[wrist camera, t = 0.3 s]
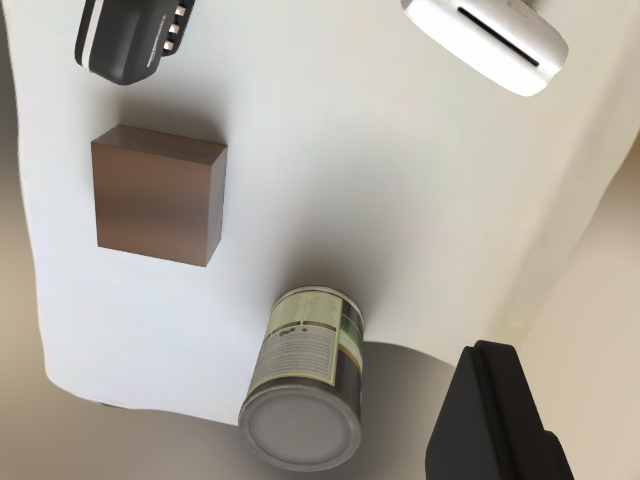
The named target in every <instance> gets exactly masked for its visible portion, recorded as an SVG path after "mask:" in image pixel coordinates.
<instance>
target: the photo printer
mask: <svg viewBox="0 0 640 480" xmlns="http://www.w3.org/2000/svg"><path fill="white" fill-rule="evenodd" d="M400 2H401V5H402V8H403V10H404V12H405V13H406V15H407V16H408V17H409V18H410V19H411V20H412V21H413V22H414V23H415V24H416V25H417V26H418V27H419V28H420V29H421V30H423V31H424V32H425V33H426V34H428V35H429V36H430V37H432V38H433V39H434V40H435V41H437V42H438V43H439V44H441V45H442V46H443V47H445V48H446V49H447V50H449V51H450V52H452V53H453V54H454V55H456V56H457V57H459V58H460V59H462V60H463V61H464V62H466V63H467V64H469V65H470V66H472V67H473V68H475V69H476V70H478V71H479V72H481V73H482V74H484V75H485V76H487V77H488V78H490V79H491V80H493V81H495V82H496V83H498V84H499V85H501V86H503V87H504V88H506V89H508V90H510V91H512V92H514V93H517V94H520V95H523V96H531V95H534V94H536V93H538V92H539V91H541V90H542V89H543V88H544V87H546V86H547V85H548V83H549V81H550V80H551V78H552V77H553V76H554V75H555V74H556V73H557V72H558V71H559V70H560V69H561V68H562V67H563V65H564V63H565V60H566V58H567V55H568V45H567V44H566V42H565V41H564V39H563V38H562V37H561V35H560V34H559V32H558V31H557V30H556V29H555V28H553V27H552V26H551V25H550V24H549V23H548V22H547V21H546V20H545V19H543V18H542V17H541V16H540V15H539V14H537V13H536V12H535V11H534V10H532V9H531V8H530V7H529V6H527V5H526V4H525V3H523V2H522V1H521V0H400Z"/></svg>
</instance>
